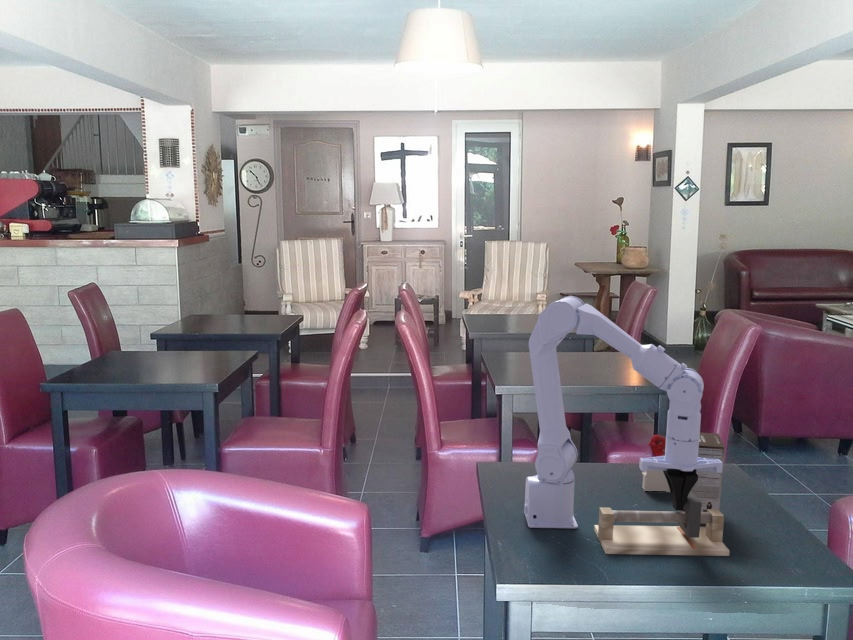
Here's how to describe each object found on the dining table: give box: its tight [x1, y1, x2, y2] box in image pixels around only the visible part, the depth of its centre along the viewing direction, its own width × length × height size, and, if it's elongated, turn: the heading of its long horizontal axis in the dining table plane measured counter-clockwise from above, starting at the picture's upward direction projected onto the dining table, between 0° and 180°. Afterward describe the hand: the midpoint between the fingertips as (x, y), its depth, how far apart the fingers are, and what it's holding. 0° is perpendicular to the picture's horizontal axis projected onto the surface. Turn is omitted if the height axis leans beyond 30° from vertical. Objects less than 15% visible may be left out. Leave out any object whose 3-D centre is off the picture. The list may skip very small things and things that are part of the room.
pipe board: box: [593, 506, 730, 557], centre depth 139 cm, size 22×10×6 cm, turn 90°
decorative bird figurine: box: [647, 434, 666, 457], centre depth 176 cm, size 3×18×10 cm, turn 112°
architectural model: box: [641, 470, 671, 493], centre depth 166 cm, size 3×7×7 cm, turn 89°
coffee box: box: [691, 432, 726, 525], centre depth 151 cm, size 9×6×16 cm
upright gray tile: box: [677, 491, 702, 538], centre depth 139 cm, size 2×5×7 cm, turn 0°
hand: (677, 508), depth 139 cm, fingers closed
